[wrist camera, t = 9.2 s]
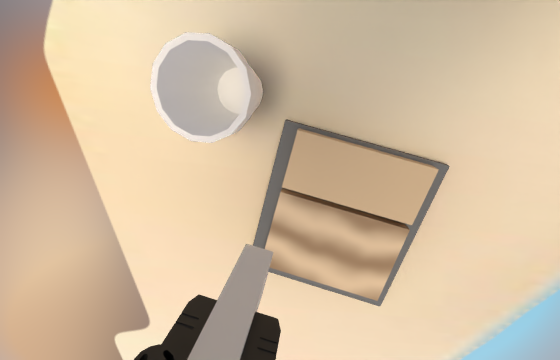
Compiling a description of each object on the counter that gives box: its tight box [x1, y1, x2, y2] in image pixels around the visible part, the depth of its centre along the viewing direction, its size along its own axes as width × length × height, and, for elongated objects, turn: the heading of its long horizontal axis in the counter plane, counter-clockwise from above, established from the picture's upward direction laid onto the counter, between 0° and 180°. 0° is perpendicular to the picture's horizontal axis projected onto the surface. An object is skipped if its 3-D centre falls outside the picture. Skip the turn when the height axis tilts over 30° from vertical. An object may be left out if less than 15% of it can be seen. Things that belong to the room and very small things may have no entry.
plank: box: [265, 188, 410, 301], centre depth 39 cm, size 12×18×2 cm, turn 76°
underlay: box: [253, 120, 449, 306], centre depth 39 cm, size 24×22×3 cm
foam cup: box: [150, 32, 263, 143], centre depth 30 cm, size 10×9×13 cm
